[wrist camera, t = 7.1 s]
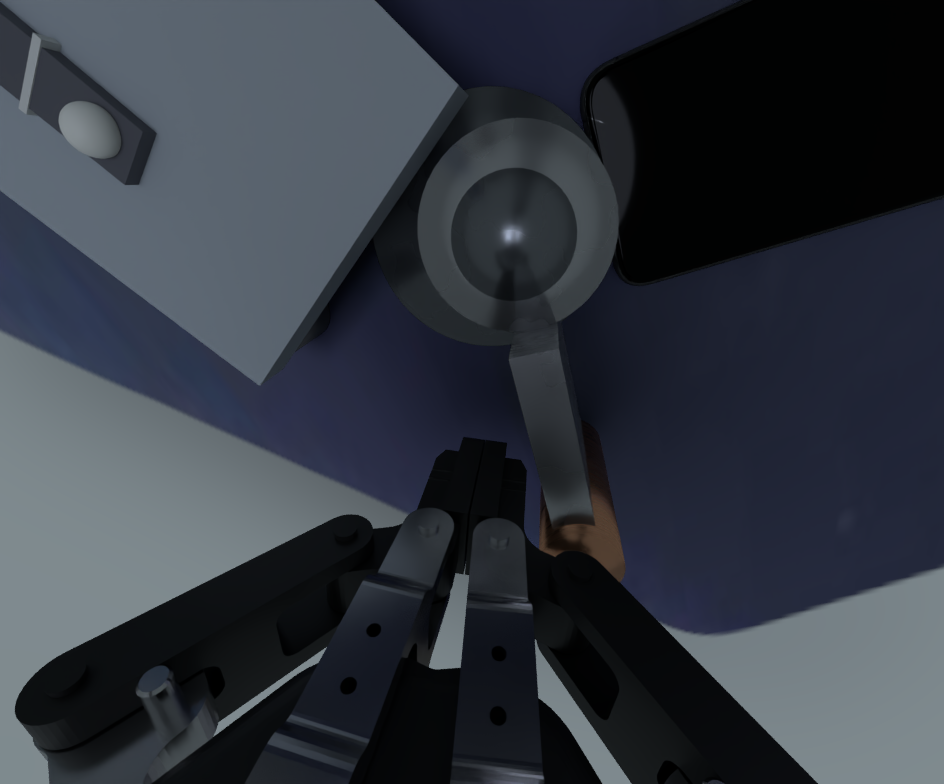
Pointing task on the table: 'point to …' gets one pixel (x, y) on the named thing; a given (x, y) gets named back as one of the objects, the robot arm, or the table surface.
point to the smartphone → (768, 128)
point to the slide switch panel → (218, 150)
